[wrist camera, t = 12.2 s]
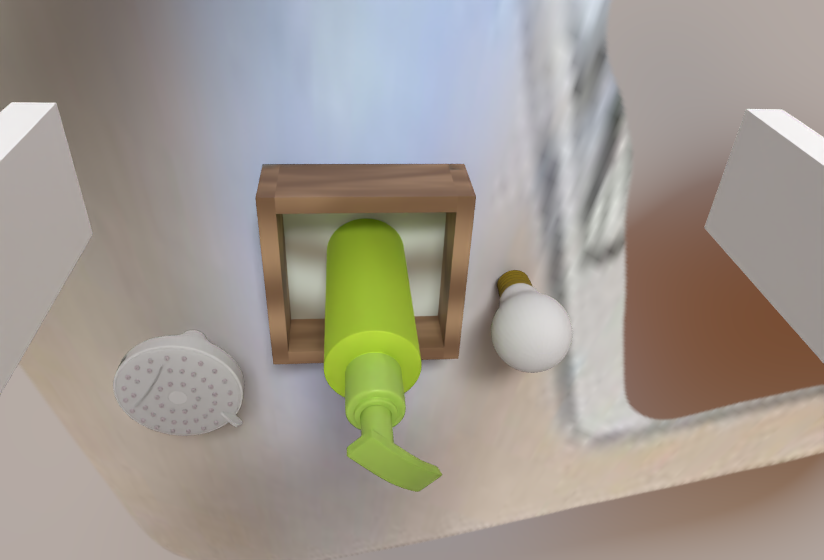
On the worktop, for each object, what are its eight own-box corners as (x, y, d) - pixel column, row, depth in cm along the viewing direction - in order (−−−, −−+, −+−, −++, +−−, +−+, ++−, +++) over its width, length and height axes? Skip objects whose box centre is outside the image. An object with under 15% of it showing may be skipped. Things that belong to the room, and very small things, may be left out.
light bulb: (469, 257, 52) (493, 338, 44) (541, 239, 52) (579, 317, 44) (481, 313, 56) (506, 397, 48) (549, 296, 55) (586, 378, 47)
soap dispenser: (376, 302, 53) (394, 517, 37) (310, 254, 50) (297, 466, 33) (429, 256, 51) (471, 463, 34) (363, 203, 48) (376, 403, 31)
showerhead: (213, 462, 53) (89, 419, 49) (226, 397, 59) (116, 354, 55) (270, 389, 49) (140, 336, 45) (277, 328, 55) (163, 276, 51)
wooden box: (262, 164, 46) (255, 197, 42) (464, 164, 48) (476, 196, 44) (278, 323, 54) (273, 364, 50) (449, 319, 56) (458, 358, 52)
